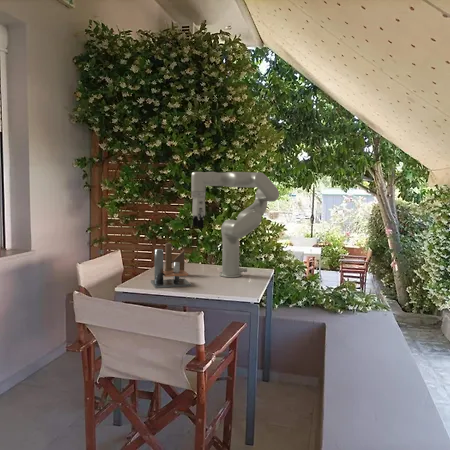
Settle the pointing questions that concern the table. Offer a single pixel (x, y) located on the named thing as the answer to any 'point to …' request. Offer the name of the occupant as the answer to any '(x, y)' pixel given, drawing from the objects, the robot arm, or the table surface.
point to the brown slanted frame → (169, 258)
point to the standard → (166, 274)
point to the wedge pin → (176, 271)
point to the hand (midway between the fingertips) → (198, 226)
